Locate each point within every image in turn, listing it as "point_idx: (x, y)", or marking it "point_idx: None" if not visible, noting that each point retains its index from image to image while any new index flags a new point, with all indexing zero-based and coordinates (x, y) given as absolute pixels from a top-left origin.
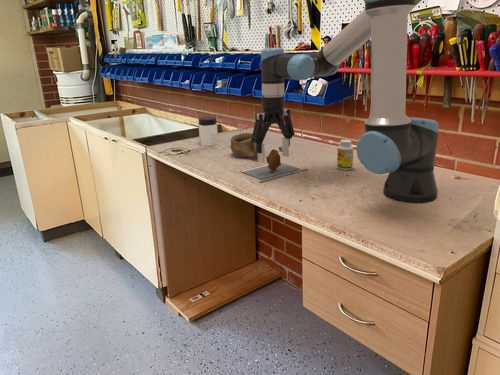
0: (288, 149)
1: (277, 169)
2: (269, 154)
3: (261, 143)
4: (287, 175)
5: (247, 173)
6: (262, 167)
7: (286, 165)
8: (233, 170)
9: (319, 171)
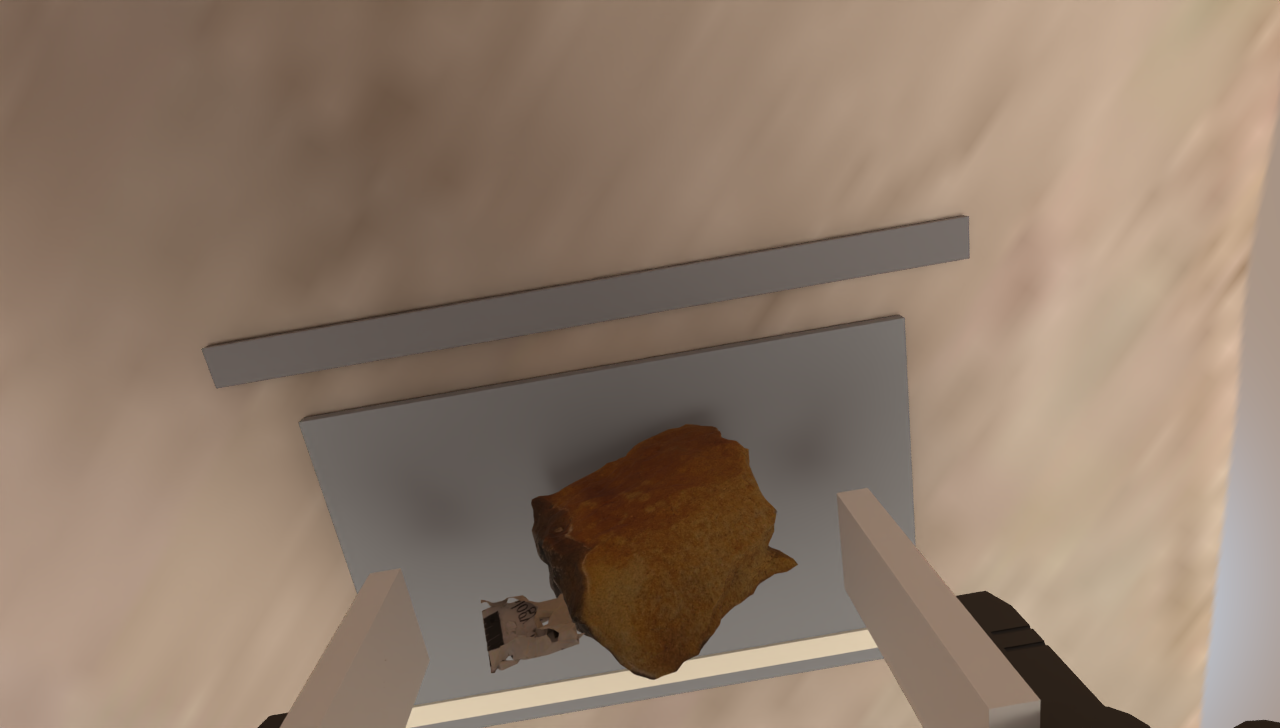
0: (330, 650)
1: None
2: (732, 601)
3: (1081, 722)
4: (561, 285)
5: None
6: None
7: None
8: None
9: (101, 215)
